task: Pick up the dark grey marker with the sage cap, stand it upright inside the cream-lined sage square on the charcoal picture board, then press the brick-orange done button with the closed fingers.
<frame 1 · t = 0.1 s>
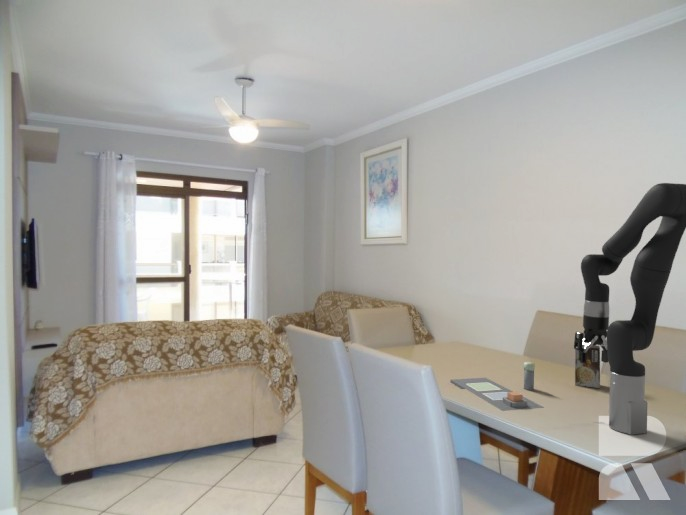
hand: (593, 362, 157), 17 cm above the table, tool pointing down, fingers open, 8 cm apart
picture board: (492, 394, 177), on the table
done button: (514, 397, 164), point 3 cm above the table, slide at 0.0 cm
marker: (528, 391, 182), on the table
coffee box: (587, 385, 192), on the table
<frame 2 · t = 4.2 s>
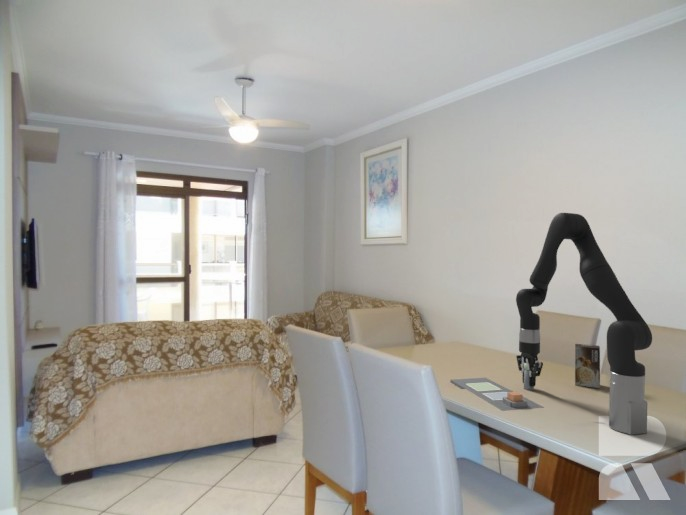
hand: (528, 384, 182), 3 cm above the table, tool pointing down, fingers closed on marker, 3 cm apart
marker: (528, 391, 182), on the table, touching gripper
everything else where it was.
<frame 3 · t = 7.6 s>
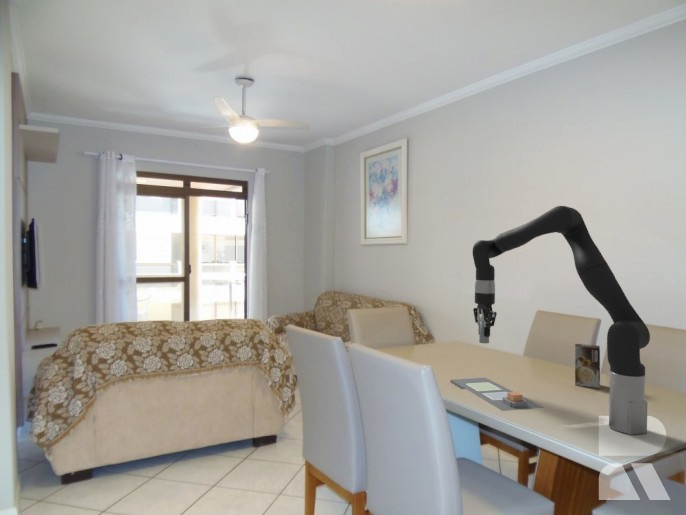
hand: (484, 335, 184), 21 cm above the table, tool pointing down, fingers closed on marker, 3 cm apart
marker: (484, 342, 184), point 18 cm above the table, touching gripper
everything else where it was.
when the fingers open (5 cm above the table, at t = 11.0 s): marker stays where it is, resting on picture board.
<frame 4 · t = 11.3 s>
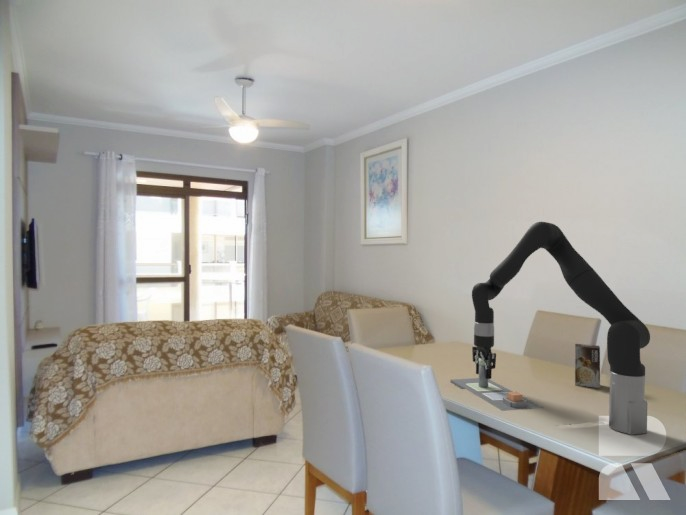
hand: (483, 376, 184), 5 cm above the table, tool pointing down, fingers open, 6 cm apart
marker: (483, 386, 184), point 1 cm above the table, touching picture board
everything else where it was.
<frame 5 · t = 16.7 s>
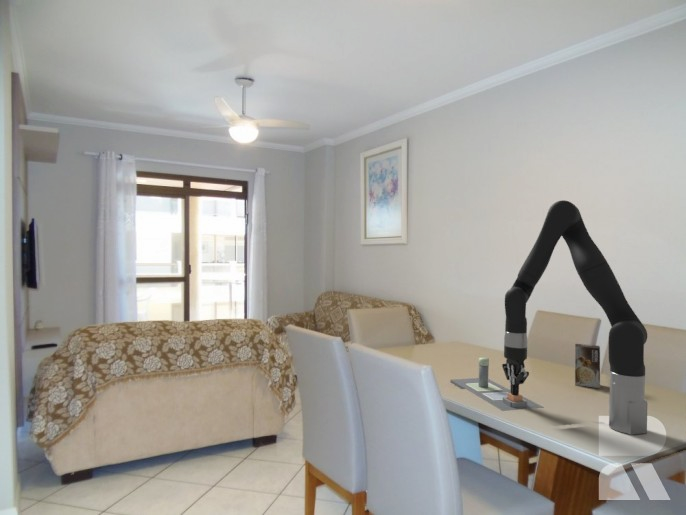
hand: (514, 394, 164), 4 cm above the table, tool pointing down, fingers closed
done button: (514, 398, 164), point 3 cm above the table, slide at 0.4 cm, touching gripper
everything else where it was.
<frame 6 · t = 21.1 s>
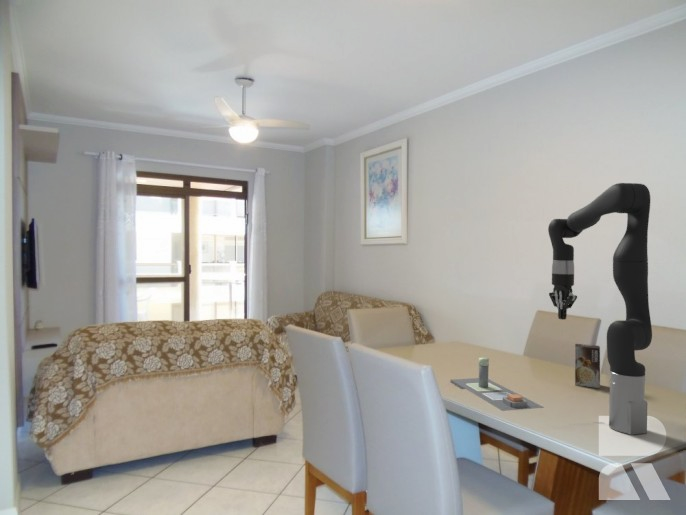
hand: (562, 319, 176), 29 cm above the table, tool pointing down, fingers closed
done button: (514, 399, 164), point 3 cm above the table, slide at 0.9 cm
everything else where it was.
at the end: marker inside the target area (0.0 cm from its centre), point 1.1 cm above the table; marker tilted 0°; done button slide at 0.9 cm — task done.
